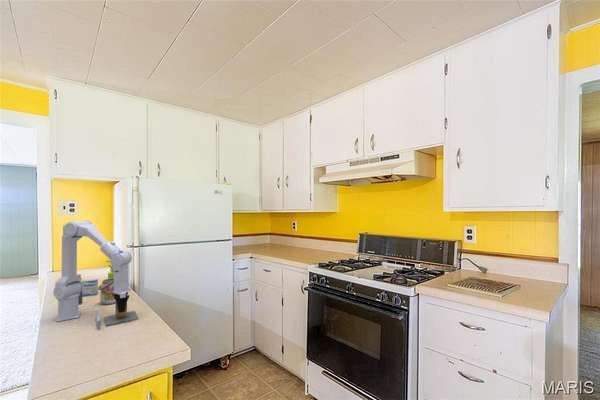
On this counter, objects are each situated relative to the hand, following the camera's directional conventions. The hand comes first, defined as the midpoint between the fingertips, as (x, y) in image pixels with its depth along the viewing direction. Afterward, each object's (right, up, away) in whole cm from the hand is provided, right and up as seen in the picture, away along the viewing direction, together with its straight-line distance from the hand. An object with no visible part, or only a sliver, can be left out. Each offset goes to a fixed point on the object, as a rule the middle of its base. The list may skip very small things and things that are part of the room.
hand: (121, 310), depth 129 cm
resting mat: (0, -4, 0) cm, 4 cm away
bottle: (-37, -5, +22) cm, 44 cm away
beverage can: (-21, -5, +23) cm, 31 cm away
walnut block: (0, -2, 0) cm, 2 cm away
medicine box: (-42, -6, +38) cm, 57 cm away
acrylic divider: (-7, -4, -5) cm, 9 cm away
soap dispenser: (-27, -6, +37) cm, 46 cm away
